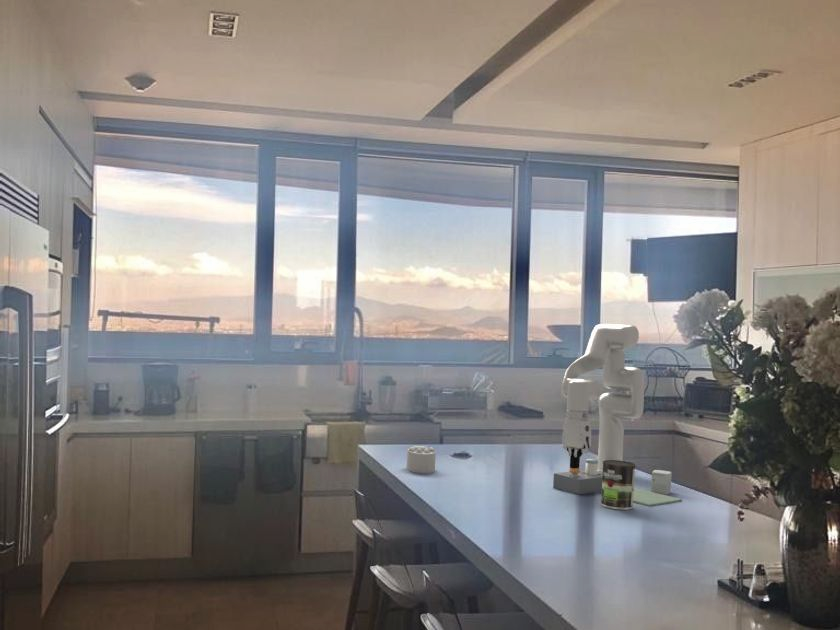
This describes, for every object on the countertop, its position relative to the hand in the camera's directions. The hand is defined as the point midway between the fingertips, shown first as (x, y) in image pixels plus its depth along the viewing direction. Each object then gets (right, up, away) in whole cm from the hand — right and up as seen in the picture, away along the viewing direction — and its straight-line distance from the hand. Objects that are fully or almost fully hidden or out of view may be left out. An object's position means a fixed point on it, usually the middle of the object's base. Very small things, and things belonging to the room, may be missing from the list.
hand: (574, 467), depth 290 cm
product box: (+32, -10, +5) cm, 33 cm away
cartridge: (+7, -8, +6) cm, 12 cm away
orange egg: (0, -6, 0) cm, 6 cm away
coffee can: (+10, -9, -22) cm, 26 cm away
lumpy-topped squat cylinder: (-54, -5, +23) cm, 59 cm away
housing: (+4, -8, +3) cm, 9 cm away
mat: (+22, -9, -8) cm, 25 cm away
